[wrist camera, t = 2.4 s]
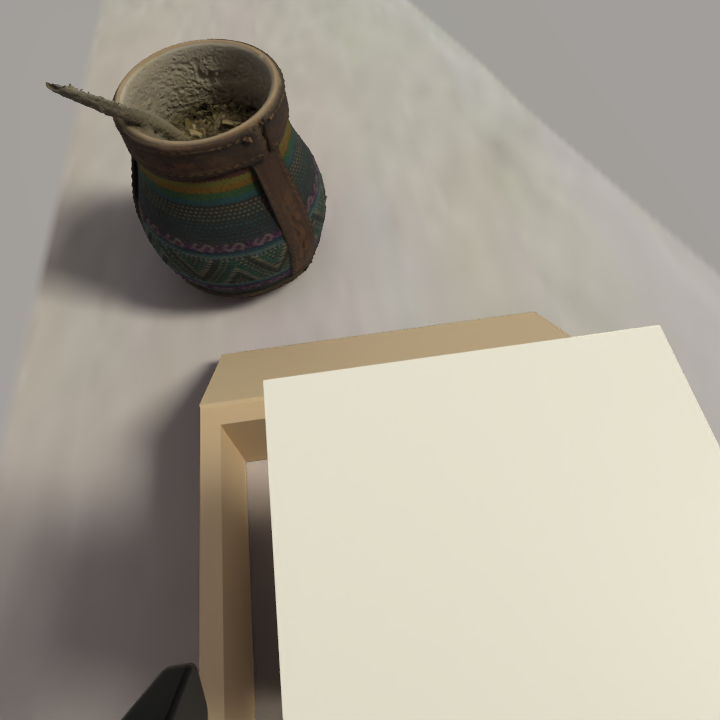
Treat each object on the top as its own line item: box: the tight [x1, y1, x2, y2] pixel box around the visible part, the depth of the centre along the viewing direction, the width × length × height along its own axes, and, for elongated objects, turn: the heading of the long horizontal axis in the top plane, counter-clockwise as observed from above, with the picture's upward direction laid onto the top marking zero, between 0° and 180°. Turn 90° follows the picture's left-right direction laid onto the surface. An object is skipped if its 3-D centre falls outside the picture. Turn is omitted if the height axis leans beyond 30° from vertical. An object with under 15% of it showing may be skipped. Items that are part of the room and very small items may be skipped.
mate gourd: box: [46, 39, 327, 297], centre depth 19 cm, size 7×8×10 cm
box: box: [263, 325, 720, 720], centre depth 11 cm, size 4×6×12 cm
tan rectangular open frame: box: [199, 312, 571, 720], centre depth 15 cm, size 19×12×4 cm, turn 8°
